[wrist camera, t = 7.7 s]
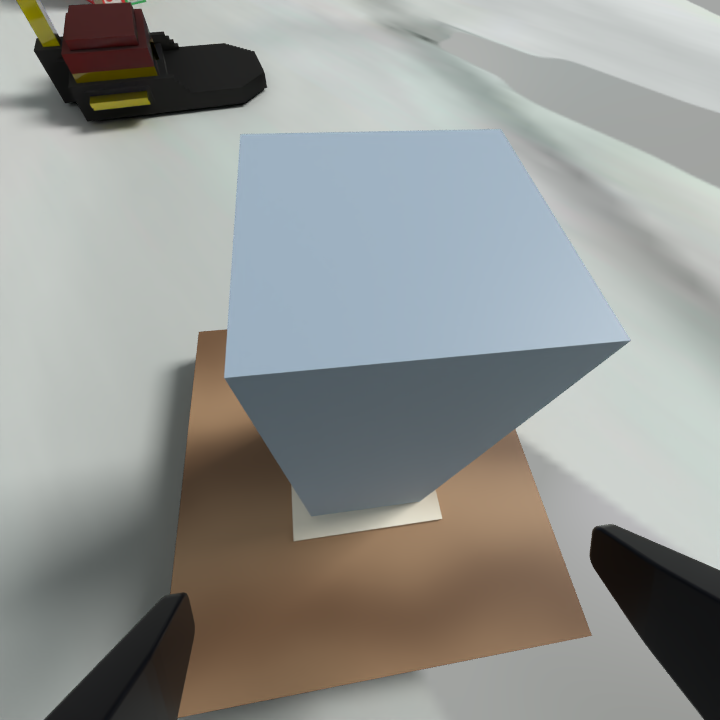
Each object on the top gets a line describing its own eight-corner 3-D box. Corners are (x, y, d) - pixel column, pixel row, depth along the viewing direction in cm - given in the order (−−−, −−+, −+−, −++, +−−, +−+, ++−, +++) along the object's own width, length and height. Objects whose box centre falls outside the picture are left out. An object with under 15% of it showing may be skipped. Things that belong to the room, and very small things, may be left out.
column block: (419, 501, 15) (631, 341, 4) (311, 516, 15) (224, 377, 4) (399, 401, 18) (500, 129, 7) (305, 411, 17) (240, 134, 6)
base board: (557, 625, 16) (595, 636, 13) (185, 697, 14) (153, 724, 12) (458, 332, 24) (471, 307, 21) (212, 354, 22) (197, 329, 19)
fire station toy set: (72, 73, 40) (-13, -83, 30) (250, 57, 44) (225, -84, 34) (67, 141, 33) (-44, -31, 23) (277, 114, 37) (255, -40, 28)
